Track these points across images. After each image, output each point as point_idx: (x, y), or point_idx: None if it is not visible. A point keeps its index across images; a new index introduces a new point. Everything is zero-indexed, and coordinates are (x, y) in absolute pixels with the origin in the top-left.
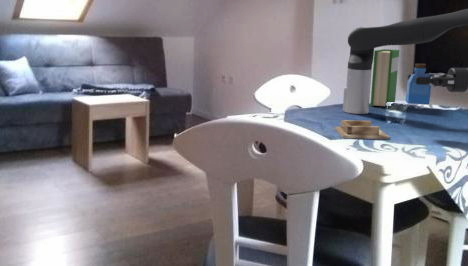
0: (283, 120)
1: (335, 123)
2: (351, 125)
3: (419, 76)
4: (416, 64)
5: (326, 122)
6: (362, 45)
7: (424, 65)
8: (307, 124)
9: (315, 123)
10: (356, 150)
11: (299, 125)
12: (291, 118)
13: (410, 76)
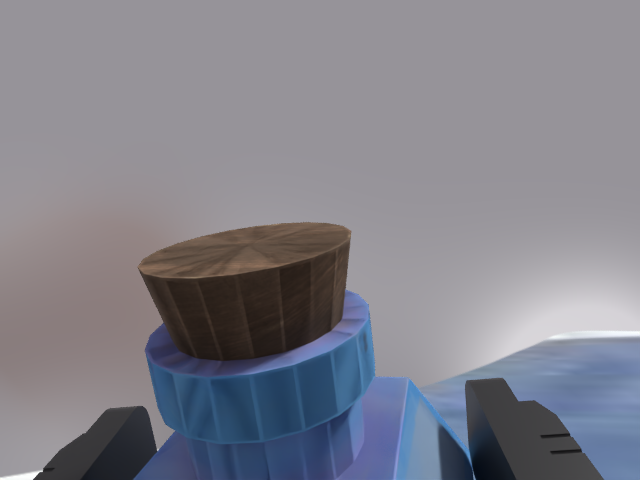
0: (556, 338)
1: (615, 459)
2: None
3: (181, 434)
4: (236, 234)
5: (615, 430)
6: None
7: (148, 289)
8: (516, 382)
9: (556, 400)
10: None
11: (482, 367)
12: (619, 349)
13: (421, 402)
